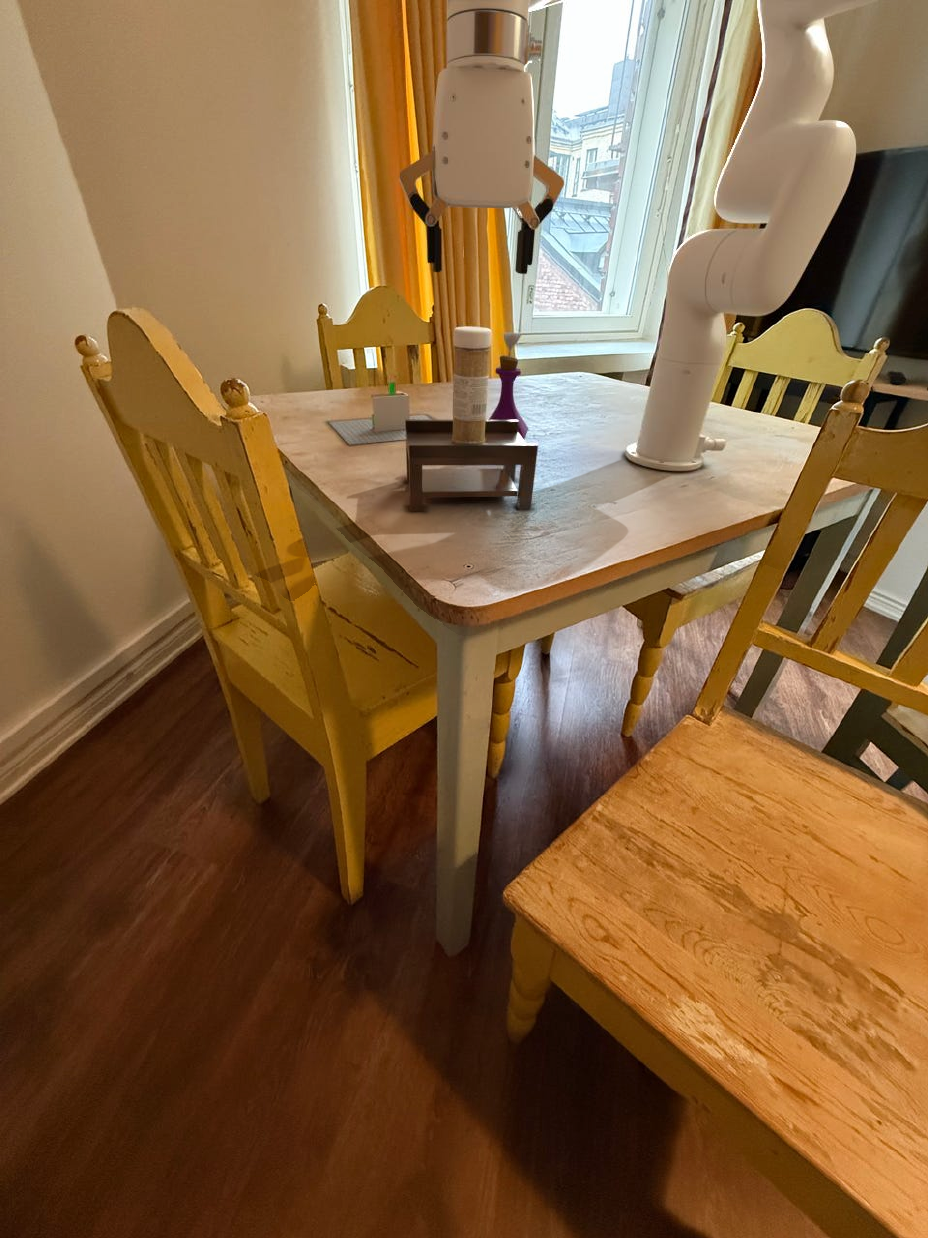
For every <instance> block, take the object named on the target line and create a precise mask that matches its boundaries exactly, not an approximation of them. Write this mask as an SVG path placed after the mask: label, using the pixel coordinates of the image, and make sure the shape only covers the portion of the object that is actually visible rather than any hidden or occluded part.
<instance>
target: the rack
mask: <svg viewBox="0 0 928 1238" xmlns="http://www.w3.org/2000/svg"><path fill="white" fill-rule="evenodd" d="M430 419H431V418H430ZM430 419H406V420H405V429H406V440H405V460H406V463H405V464H406V465H405V466H406V483H409V484H408V486H409V487H408V488H409V509H410V512H423V511H424V509H423V507H424V504H423V503H424V502H423V500H424V498H425V499H426V498H489V497H490V498H493V497H495V498H497V497H499V498H501V497H516V507H517V508H518V510H519V511H520V510H522V511H523V510H531V509H532V501H533V492H534V484H535V477H536V476H535V475H536V467H537V458H538V449H539V445H538V443H526V441H525V439H524V440H523V439H522V437H521V436H520V435H519V433H518V426H519V421H518V420H489V419H486V420H485V443H484V444H455V443H453V442H452V436H453V419H432V420H430ZM423 466H425V467H427V466H429V467H430V466H434V467H435V466H502V468H423ZM517 466H520V467H519V477H518V487H517V488H516V485H515V484H514V482H515V480H516V479H515V478H516V469H517Z"/></svg>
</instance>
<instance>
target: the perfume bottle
mask: <svg viewBox="0 0 928 1238" xmlns="http://www.w3.org/2000/svg"><path fill="white" fill-rule="evenodd" d="M521 337H522V333H518V332H504V333H503V340H504V343H505V345H506V347H507V349H508V355H503V354H501V355H500V356H499V365H500V366H497V367H496V368H495V371H494V373H495V374H496V375H498V376H499V379H500V382H501V385H500V386H501V388H500V395H499V401H498V403H497V405H496V407H495V409H494V410H493V412H492V413H491V415H490V417H489V418H488V420H518V421H519V426H518V433H519V435H520V436H521V437H522V439H523V440H524V441H525V439H526V436H527V434H528V431H529V427H528V426H527V424H526V422H525V420H524V419H523V418H522V416H521V415H520V412H519V410H518V408H517V406H516V403H515V397H514V383H515V381H516V379H517V377H518V376H521V375H522V370H521V369H520V368H518V364H519V360H518V358H517V357H515V356H511V350H512V349H513V348H514V347H515V346H516V345H517V344H518V342H519V341H520V339H521Z"/></svg>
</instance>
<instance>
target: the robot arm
mask: <svg viewBox="0 0 928 1238" xmlns="http://www.w3.org/2000/svg"><path fill="white" fill-rule="evenodd" d="M566 1H567V0H446V67H445V68H442V69H441V70H440V72H439V73H438V77H437V82H436V90H435V91H436V92H435V98H434V99H435V102H434V112H433V113H434V115H433V135H432V136H433V137H432V140H433V141H432V150H431V151H429V152H428V153H427V154H425V155H423V156H422V157H421V158H419V159H418V160H416V161H414V162H413V163H411V164H409V165H408V166H407V167H405V168H404V169H402V170H401V171H399V174H398V180H399V183H400V185H401V187H402V190H403V193H404V194H405V196H406V199H407V201H408V203H409V206H410V208H411V209H412V211H414V212H415V213H416V215H417V216H418V218H419V219H420V221H422V223H423V224H424V226H425V227H426V260H427V261H426V262H427V264H432V271H433V273H441V272H443V271H442V270H443V256H442V255H443V250H442V249H443V245H442V244H443V243H442V241H443V239H442V238H443V236H442V235H443V234H442V233H443V232H442V228H440V219H441V217H442V216H443V214H444V212H445V211H446V209H447V208H448V207H451V208H452V207H454V208H455V207H456V208H476V209H477V208H479V209H512V210H513V212H514V213H515V215H516V217H517V218H518V220H519V222H520V223H521V224H520V225H521V226H520V229H519V230H518V231H517V236H516V237H517V239H516V255H515V269H514V270H515V272H516V273H517V274H520V275H527V274H528V269H529V266H532V264H533V259H534V249H535V236H536V229H538V228H539V227H540V225H541V224H542V222H543V221H544V220H545V218H547V216H548V215H549V214H550V213H551V212H552V211H553V209H554V205H555V203H556V202H557V200H558V198H559V196H560V194H561V192H562V190H563V188H564V185H565V180H564V178H563V177H562V175H560V174H558V173H557V172H556V171H555V170H554V169H553V168H551V167H550V166H549V165H548V164H546V163H545V162H544V161H542V160H541V159H540V158H539V157H538V156H536V155H535V109H534V89H533V78H532V74H531V72H528V71H526V68H527V66H528V65H529V63H532V62H533V61H540V60H541V58H542V54H543V53H542V52H543V40H542V39H536V38H535V37H533V36H532V32H531V24H529V17H530V12H532V11H537V10H540V9H544V8H546V7H550V6H553V5H556V4H559V3H563V2H566ZM876 2H879V0H757V12H758V19H759V25H760V33H761V43H762V69H761V77H760V80H759V84H758V87H757V90H756V93H755V96H754V98H753V101H752V103H751V106H750V107H749V110H748V113H747V115H746V117H745V120H744V121H743V123H742V125H741V129H740V131H739V133H738V135H737V137H736V139H735V142H734V145H733V146H732V148H731V151H730V153H729V156H728V157H727V160H726V162H725V165H724V167H723V170H722V172H721V175H720V177H719V180H718V183H717V187H716V189H715V194H714V207H715V211H716V213H717V215H718V216H719V217H720V218H721V219H722V220H725V221H727V222H728V223H729V222H730V223H736V224H766V225H765V227H764V228H715V229H707V230H703V231H700V232H697V233H696V234H693V235H692V236H691V235H690V237H689V238H687V239H685V241H683V243H682V244H680V246H679V247H678V248H677V250H676V251H675V253H674V255H673V258H672V259H671V262H670V265H669V268H668V273H667V280H666V299H665V312H664V320H663V324H662V325H663V326H662V332H661V337H660V342H659V345H658V351H657V355H656V358H655V363H654V368H653V372H652V376H651V381H650V385H649V389H648V393H647V398H646V403H645V406H644V407H645V408H644V411H643V416H642V420H641V425H640V429H639V434H638V438H637V442H635V443H632V444H630V445H628V446H627V447H626V450H625V456H626V458H627V459H628V460H629V461H631V462H633V463H635V464H636V465H640V466H643V467H646V468H649V469H655V470H658V471H659V470H660V471H669V472H690V471H694V470H697V469H699V468H701V467H702V465H703V462H704V457H703V455H702V454H704V453H706V452H708V451H710V452H723V451H724V449H725V447H726V440H725V439H724V438H712V439H711V437H710V436H706V435H704V434H702V431H703V428H704V424H705V420H706V417H707V414H708V411H709V408H710V403H711V400H712V396H713V393H714V391H715V390H714V389H715V386H716V383H717V379H718V376H719V372H720V369H721V367H722V363H723V360H724V357H725V353H726V349H727V337H728V336H727V335H728V334H727V327H726V320H725V316H724V315H725V314H727V315H728V314H729V315H737V316H747V317H762V316H767V315H769V314H771V313H774V312H776V310H778V309H779V308H780V307H781V306H782V305H783V304H784V303H786V301H787V300H788V298H789V297H790V296H791V295H792V293H793V291H794V290H795V288H796V286H797V285H798V283H799V282H800V280H801V278H802V276H803V274H804V272H805V271H806V268H807V267H808V265H809V263H810V260H811V259H812V257H813V255H814V254H815V251H816V250H817V248H818V246H819V244H820V242H821V240H822V239H823V237H824V234H825V233H826V231H827V229H828V227H829V225H830V224H831V221H832V219H833V218H834V216H835V214H836V212H837V210H838V208H839V206H840V204H841V202H842V200H843V197H844V196H845V194H846V191H847V189H848V187H849V184H850V182H851V178H852V174H853V172H854V168H855V167H854V166H855V162H856V158H857V157H856V156H857V140H856V136H855V133H854V131H853V130H852V128H851V127H850V126H849V125H848V124H847V123H845V122H843V121H840V120H836V119H825V120H820V118H821V115H822V113H823V111H824V109H825V106H826V104H827V102H828V99H829V98H830V95H831V92H832V89H833V85H834V84H833V83H834V77H835V66H834V65H835V64H834V58H833V54H832V51H831V47H830V44H829V40H828V35H827V31H826V25H825V18H829V17H832V16H836V15H839V14H842V13H845V12H849V11H852V10H854V9H858V8H861V7H865V6H868V5H871V4H874V3H876ZM430 172H432V193H433V197H434V201H433V203H432V204H431V205H430V207H429V206H428V204H427V203H426V201H424V199H423V198H422V197H421V195H420V193H419V190H418V188H417V184H416V181H417V180H418V179H420V178H421V177H423V176H424V175H426V174H428V173H430ZM534 178H535V179H537V181H538V182H540V183H541V184H543V185H544V187H545V192H544V194H543V197H542V199H541V201H540V202H539V203H538V204H537V205H536V206H535V207H533V206H532V204H531V202H530V199H531V196H532V192H533V191H532V190H533V182H534Z"/></svg>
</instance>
